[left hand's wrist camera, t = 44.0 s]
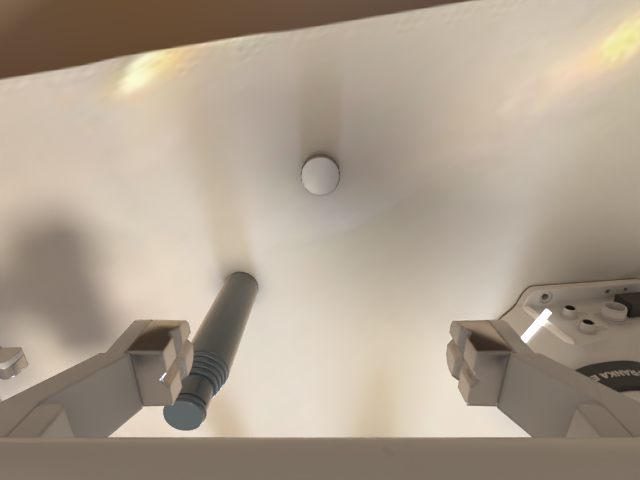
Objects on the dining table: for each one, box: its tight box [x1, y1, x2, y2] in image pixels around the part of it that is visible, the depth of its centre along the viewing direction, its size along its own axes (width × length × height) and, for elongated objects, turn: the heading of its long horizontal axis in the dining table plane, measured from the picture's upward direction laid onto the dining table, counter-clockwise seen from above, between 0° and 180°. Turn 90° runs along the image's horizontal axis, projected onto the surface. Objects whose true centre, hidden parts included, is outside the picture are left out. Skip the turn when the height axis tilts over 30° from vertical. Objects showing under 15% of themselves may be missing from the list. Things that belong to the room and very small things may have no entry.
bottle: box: [163, 272, 258, 431], centre depth 35 cm, size 4×4×20 cm
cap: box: [301, 154, 340, 195], centre depth 38 cm, size 4×4×2 cm
